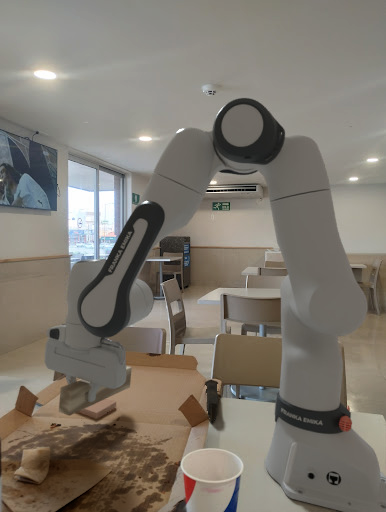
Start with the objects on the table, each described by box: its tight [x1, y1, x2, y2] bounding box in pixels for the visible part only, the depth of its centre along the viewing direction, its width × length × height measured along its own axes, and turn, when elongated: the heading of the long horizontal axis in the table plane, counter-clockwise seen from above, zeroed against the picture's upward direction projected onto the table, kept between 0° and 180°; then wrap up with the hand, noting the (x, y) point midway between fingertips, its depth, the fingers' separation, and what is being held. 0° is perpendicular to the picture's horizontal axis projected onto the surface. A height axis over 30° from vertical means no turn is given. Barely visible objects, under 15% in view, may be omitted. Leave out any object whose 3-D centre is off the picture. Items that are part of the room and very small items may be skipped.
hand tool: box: [204, 379, 219, 424], centre depth 97 cm, size 19×4×5 cm, turn 175°
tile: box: [78, 398, 117, 420], centre depth 91 cm, size 2×7×10 cm
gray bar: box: [58, 365, 133, 417], centre depth 84 cm, size 3×20×5 cm, turn 153°
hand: (82, 397), depth 80 cm, fingers closed on gray bar, 3 cm apart
